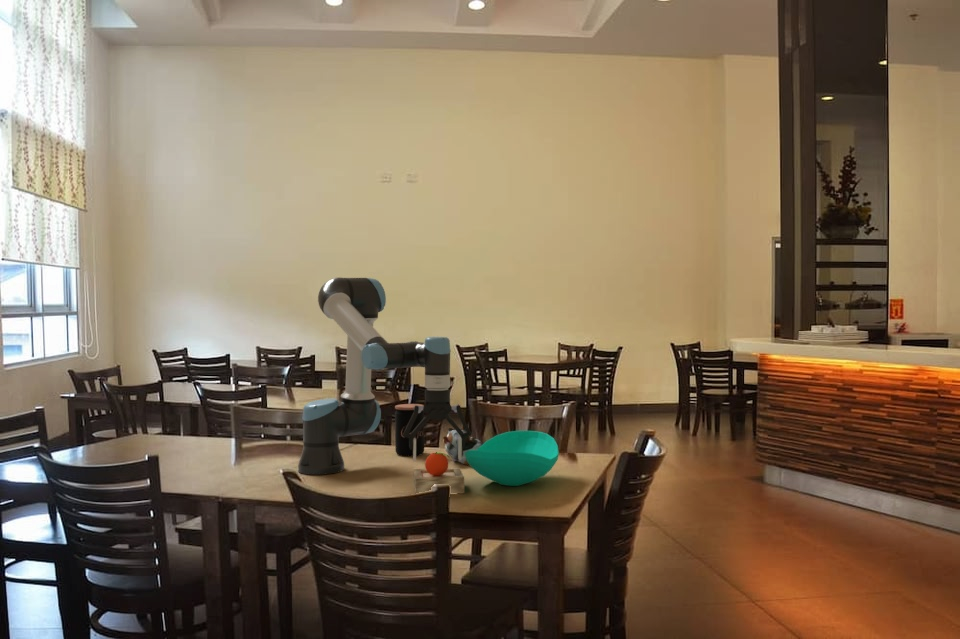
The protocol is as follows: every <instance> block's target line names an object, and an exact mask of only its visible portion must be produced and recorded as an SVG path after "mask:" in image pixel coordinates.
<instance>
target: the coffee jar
mask: <svg viewBox="0 0 960 639" xmlns="http://www.w3.org/2000/svg"><path fill="white" fill-rule="evenodd" d="M415 405H418V406H424V404H420V403H404V404H397V405H395V406H394V409H395V410H396V411H395V413H394V425H395V426H394V427H395V428H394V430H395V434H394V436H395V438H394V439H395V453H396V454H397V456H401V457H413V450H410V448H409V438H407V437H404V435H403V433H404V431H405V429H406V427H407V425H408V423H409V421H410V419H411V417H412V415H413V413H414V406H415ZM424 417H425V412H424V410H422V411H421V412H420V413H418V415H417V417H416V419H415V422H414V424H413V426H412V428H411V430H410V432H409V433H410V434H411V433H412V431H413V430H414V429H415V428H416V426H417V425H418V424H419V423H420V422H421V420H422V419H423V418H424ZM414 438H416V457H417V456H421V455H423V454H424V452H425V425H424V426H423V427H422V428H421V430H420V431H419V432H418V433H417V435H416V436H415V437H414Z"/></svg>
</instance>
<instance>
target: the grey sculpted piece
mask: <svg viewBox="0 0 960 639" xmlns="http://www.w3.org/2000/svg"><path fill="white" fill-rule="evenodd" d="M459 428H460V429H461V430H462V431H463V433H464V432H466V431H465V430H463V429H462V428H461V427H459ZM458 437H461V436H460V435H459V433H458V432H457V431H456V430H455V429H454V428H453V427H452V428H451V427H449V428H448V431H447V435H446V436H443V437H442V439H443V441H442V444H443V446H444V449H445V452H446V453H447V455H448V456H449V457H450V458H451V460H452V461H453V462H458V463H461V464H462V465H463V464H464V465H466V466H467V467H468V466H469V467H470V465H469V463H468V462H467V460H466V457H465V452H466V451H468V450H477V449H478V448H479V447H480V446H481V445H483V444H484V443H483V442H482V441H481V440H479V439H477V438H475V437H473V436H471V437H470V436H467V437H466V438H465V449H462V460H459V459H458Z"/></svg>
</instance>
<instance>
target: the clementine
mask: <svg viewBox="0 0 960 639" xmlns="http://www.w3.org/2000/svg"><path fill="white" fill-rule="evenodd" d="M446 456H447V457H448V458H449V459H450V460H452V457H451V456H450V455H449V454H446V453H444V452H437V451H435V452H433V453H431V454H430V455H428V456H427V457H426V459H425V464H424V467H425V468H424V469H426V470H427V472H428V473H429V474H431V475H433V476H440V475H443V474H444V473H445V472H446V471H447V468H449V460H448V458H447V457H446Z"/></svg>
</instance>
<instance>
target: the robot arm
mask: <svg viewBox="0 0 960 639" xmlns="http://www.w3.org/2000/svg"><path fill="white" fill-rule="evenodd" d="M317 295H318V296H317V302H318V307H319V309H320V311H321V312H322V313H323V314H324V315H325V316H326V317H327V318H328V319H331V320H333V321H334V322H335V323H336V324H337V325H338V327H340V329H341V330H342V331H343V332H344V333H345V335H347V336H346V337H347V338H346V339H347V340H346V360H345V361H346V366H345V367H346V368H345V390H344V392H342V393H341V394H340V401H338V399H337V398H325V399H317V400H313V401H310V402H308V403H306V404H305V405H304V406H303V409H302V417H301V418H302V433H303V434H302V439H303V441H302V442H303V443H302V444H303V445H302V446H303V447H302V452H301V455H300V457H299V458H300V459H299V461H298V466H297V468H298V470H297V471H298V472H299V473H300V474H302V475H330V474H331V475H332V474H336V473H340V472H343V471H344V470H345V461H344V458H343V455H342V453H341V450H340V446H339V444H340V443H339V442H340V441H339V438H342V437H348V436H349V437H350V436H359V435H366V434H369V433H372V432H373V433H374V431H375V430H376V429H377V428H378V426H379V424H380V421H381V418H382V410H381V408H380V407H381V406H380V403H379V402H378V401H377V400H376V398H375V397H376V396H375V395H374V393H372V391H371V389H372V388H371V385H372V370H377V371H378V370H379V371H380V370H385V369H386V370H387V369H399V368H401V369H402V368H405V369H406V368H417V367H418V368H424V388H425V390H424V404H423V405H424V406H418V405H415V406H414V413H413V415H412V417H411V419H410V421H409V423H408V425H407V427H406V429H405V431H404V433H403V435H404V437H407V438H409V448H410V450H413V456H412V458H413V459H412V460H413V462H417V456H416V438H414V437H415V436H416V435H417V433H418V432H419V431H420V430H421V428H422V427H423V426H424V427H425V425H426V424H427V423H428V422H429V420H431V421H444V420H447V422H448V423H449V424H450V425H451V427H452V429H454V430H456V431H457V432H458V433H459V435H460V436H461V437H458V459H459V460H462V449H465V438H466V437H467V436H469V437H470V436H471V437H472V432H471V429H470V428H469V426H468V424H467V421H466V419H465V417H464V415H463V413H462V407H461V405H460V404H459V403H457V404H455V405H451V390H450V389H449V388H450V387H451V342H450V339H449V338H448V336H447V337H446V336H427V337H425V339H424V342H421V341H420V342H419V341H407V342H391V343H389V342H388V341H387V340H386V339H385V338H384V337H383V336H382V335H381V334H380V333H379V332H378V331H377V330H376V328H375V327H374V323H375V321H377V320H378V319H379V313H380V312H382V311H383V310H385V309H384V308H385V307H386V303H387V298H386V297H387V295H386V291H385V289H384V287H383V285H382V283H381V282H380V281H379V280H378V279H376V278H371V277H334V278H331V279H329V280H327V281H326V282H324V284H323V285H322V286H321V288H320V289H319V292H318V294H317ZM422 410H423V412H424V418H423V419H422V420H421V422H420V423H419V424H418V425H417V426H416V428H415V429H414V430H413V431H412V433H411V434H410V433H409V432H410V430H411V428H412V426H413V424H414V422H415V419H416V417H417V415H418V413H420V412H421V411H422ZM452 411H453V412H454V413H455V414H457V416H458V418H459V420H460V422H461V425H462V427H463V428H464V430H463V429H462V428H461V427H459V426H458V425H457V423H456V422H455V421H454V420H453V418H451V416H450V413H451V412H452ZM460 428H461V429H462V430H463V431H466V432H464V433H463V431H462V430H461V429H460Z"/></svg>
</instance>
